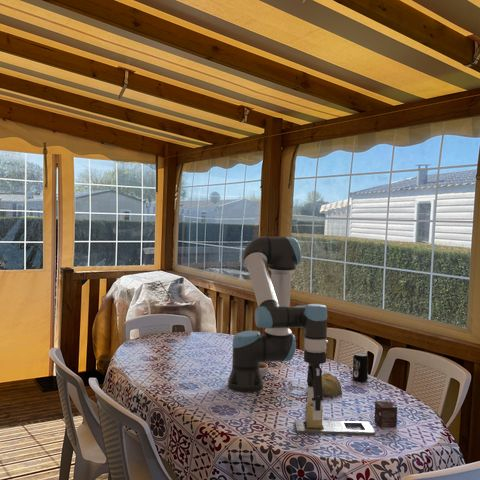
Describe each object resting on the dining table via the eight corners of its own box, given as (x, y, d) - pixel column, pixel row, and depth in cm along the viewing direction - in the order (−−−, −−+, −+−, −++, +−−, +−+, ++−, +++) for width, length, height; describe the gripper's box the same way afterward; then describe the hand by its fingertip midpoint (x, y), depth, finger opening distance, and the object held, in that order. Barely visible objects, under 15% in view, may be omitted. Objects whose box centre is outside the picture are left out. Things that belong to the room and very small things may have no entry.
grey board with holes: (297, 433, 167) (297, 430, 167) (294, 422, 176) (294, 419, 176) (375, 435, 167) (375, 432, 167) (368, 424, 176) (368, 421, 176)
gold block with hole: (306, 431, 169) (307, 407, 169) (305, 425, 174) (305, 402, 174) (321, 431, 169) (322, 408, 169) (319, 425, 174) (320, 402, 174)
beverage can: (367, 383, 223) (368, 356, 223) (352, 381, 225) (353, 355, 224) (367, 378, 230) (367, 352, 229) (352, 377, 231) (353, 351, 231)
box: (373, 421, 179) (374, 401, 179) (390, 421, 179) (390, 400, 179) (380, 428, 173) (380, 407, 173) (397, 428, 173) (397, 407, 173)
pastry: (343, 390, 213) (344, 371, 212) (340, 400, 201) (340, 380, 201) (310, 386, 217) (311, 368, 217) (305, 395, 205) (305, 376, 205)
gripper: (332, 359, 158) (331, 426, 158) (320, 342, 183) (319, 400, 183) (309, 359, 158) (307, 426, 158) (300, 341, 183) (298, 399, 183)
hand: (314, 412), depth 171 cm, fingers open, 13 cm apart
